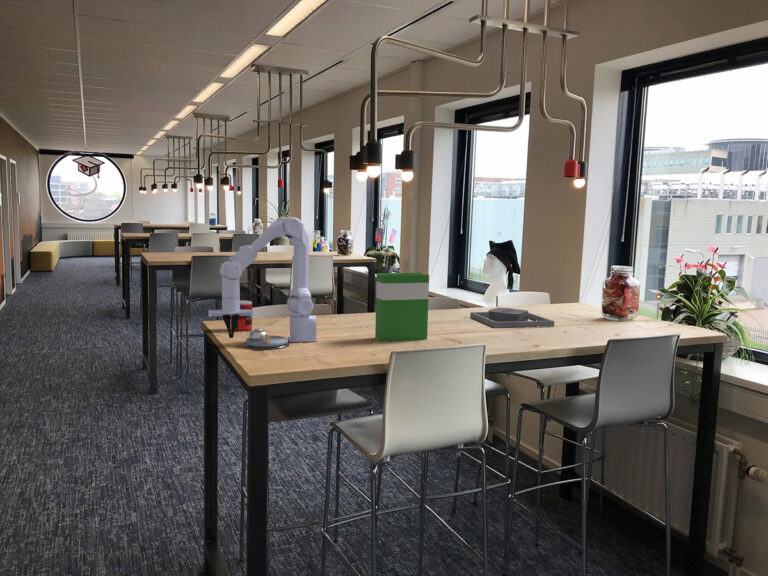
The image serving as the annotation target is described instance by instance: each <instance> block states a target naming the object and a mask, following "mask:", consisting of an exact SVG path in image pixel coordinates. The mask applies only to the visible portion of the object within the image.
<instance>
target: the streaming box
mask: <svg viewBox="0 0 768 576" xmlns="http://www.w3.org/2000/svg"><path fill="white" fill-rule="evenodd" d="M487 312H488V319H490V320H493V321H495V322H514V321H529V319H528V313H529V310H526V309H518V308H509V307H496V308H492V309H488V310H487Z"/></svg>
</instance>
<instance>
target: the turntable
mask: <svg viewBox="0 0 768 576" xmlns="http://www.w3.org/2000/svg"><path fill="white" fill-rule="evenodd" d="M288 342H289V339H288V337H285V336H280V335H271V334H270V333H269V332H267V333H266V341H250V340H249V337H248V338H246V340H245V343H246V344H247V345H249V346H254V347H277V346H283V345H286V344H288Z"/></svg>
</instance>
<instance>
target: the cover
mask: <svg viewBox="0 0 768 576" xmlns="http://www.w3.org/2000/svg"><path fill="white" fill-rule="evenodd" d="M266 333H268V331H267V330H265V329H263V328H254V329H252V330H251V331H248V338H249V340H250V341H266Z"/></svg>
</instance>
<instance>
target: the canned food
mask: <svg viewBox="0 0 768 576" xmlns="http://www.w3.org/2000/svg"><path fill="white" fill-rule="evenodd" d="M240 309H245V310H253V301H251V300H240ZM230 319H231V330H232V316H230ZM252 328H253V316H239V320H238V323H237V325H236V328H235V331H246V332H249V331H250V330H251V331H252V330H253V329H252ZM235 331H234V332H235Z"/></svg>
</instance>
